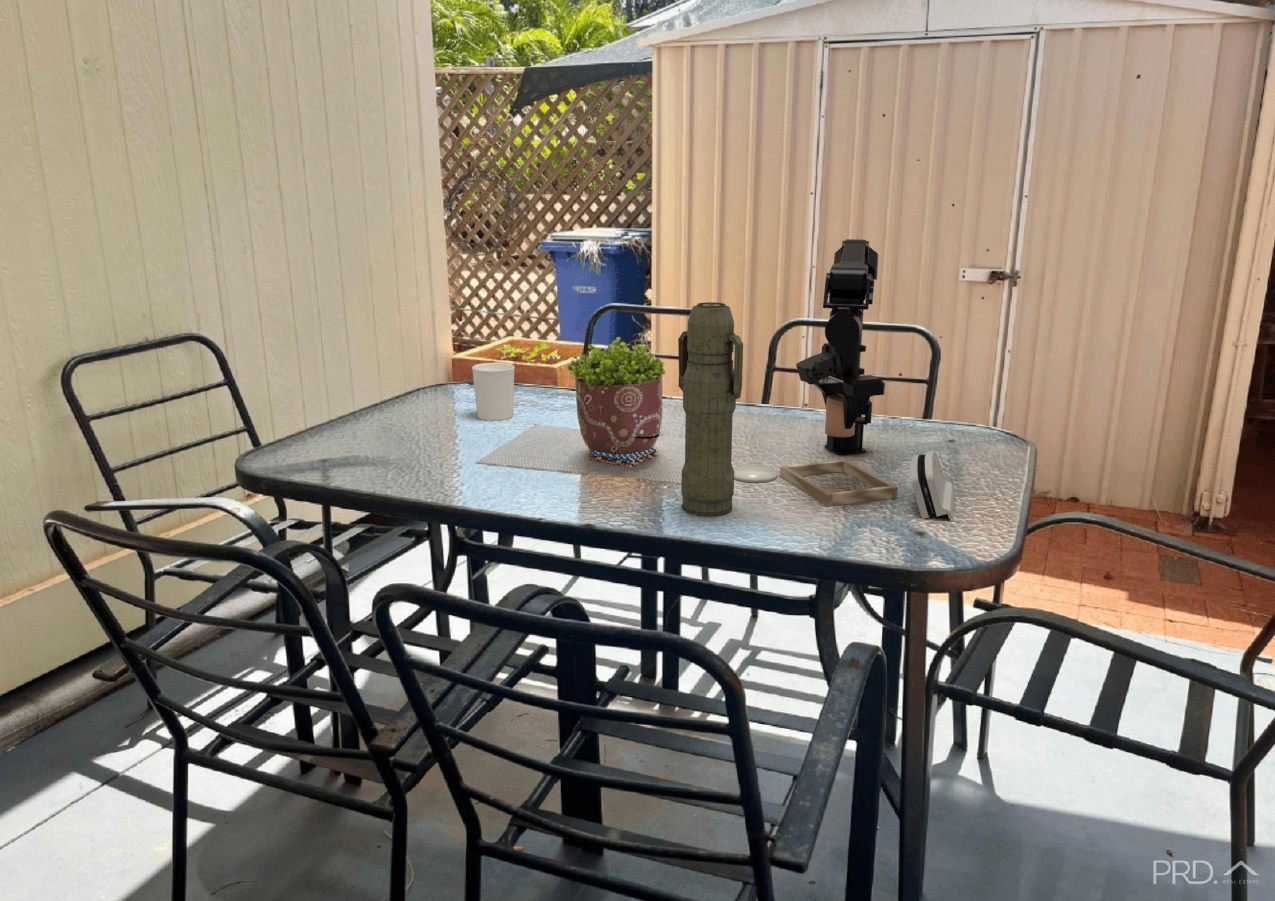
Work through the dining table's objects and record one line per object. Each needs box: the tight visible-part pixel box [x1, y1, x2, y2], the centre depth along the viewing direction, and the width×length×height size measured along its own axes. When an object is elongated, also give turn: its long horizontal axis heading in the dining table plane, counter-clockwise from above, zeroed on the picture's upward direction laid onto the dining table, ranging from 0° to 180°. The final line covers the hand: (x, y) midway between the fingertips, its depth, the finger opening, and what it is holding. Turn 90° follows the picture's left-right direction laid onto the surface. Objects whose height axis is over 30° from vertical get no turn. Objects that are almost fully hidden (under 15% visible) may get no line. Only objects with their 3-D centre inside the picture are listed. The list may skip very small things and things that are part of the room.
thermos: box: [677, 301, 744, 517], centre depth 166 cm, size 9×12×35 cm
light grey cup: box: [471, 362, 516, 422], centre depth 232 cm, size 10×10×12 cm
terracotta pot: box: [824, 395, 855, 437], centre depth 179 cm, size 5×5×7 cm
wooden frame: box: [779, 459, 899, 507], centre depth 182 cm, size 14×18×2 cm
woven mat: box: [590, 447, 658, 468], centre depth 201 cm, size 10×11×2 cm
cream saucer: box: [732, 464, 778, 484], centre depth 189 cm, size 9×9×1 cm
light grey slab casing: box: [910, 451, 956, 521], centre depth 172 cm, size 17×5×10 cm, turn 162°
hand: (840, 424), depth 179 cm, fingers closed on terracotta pot, 5 cm apart
